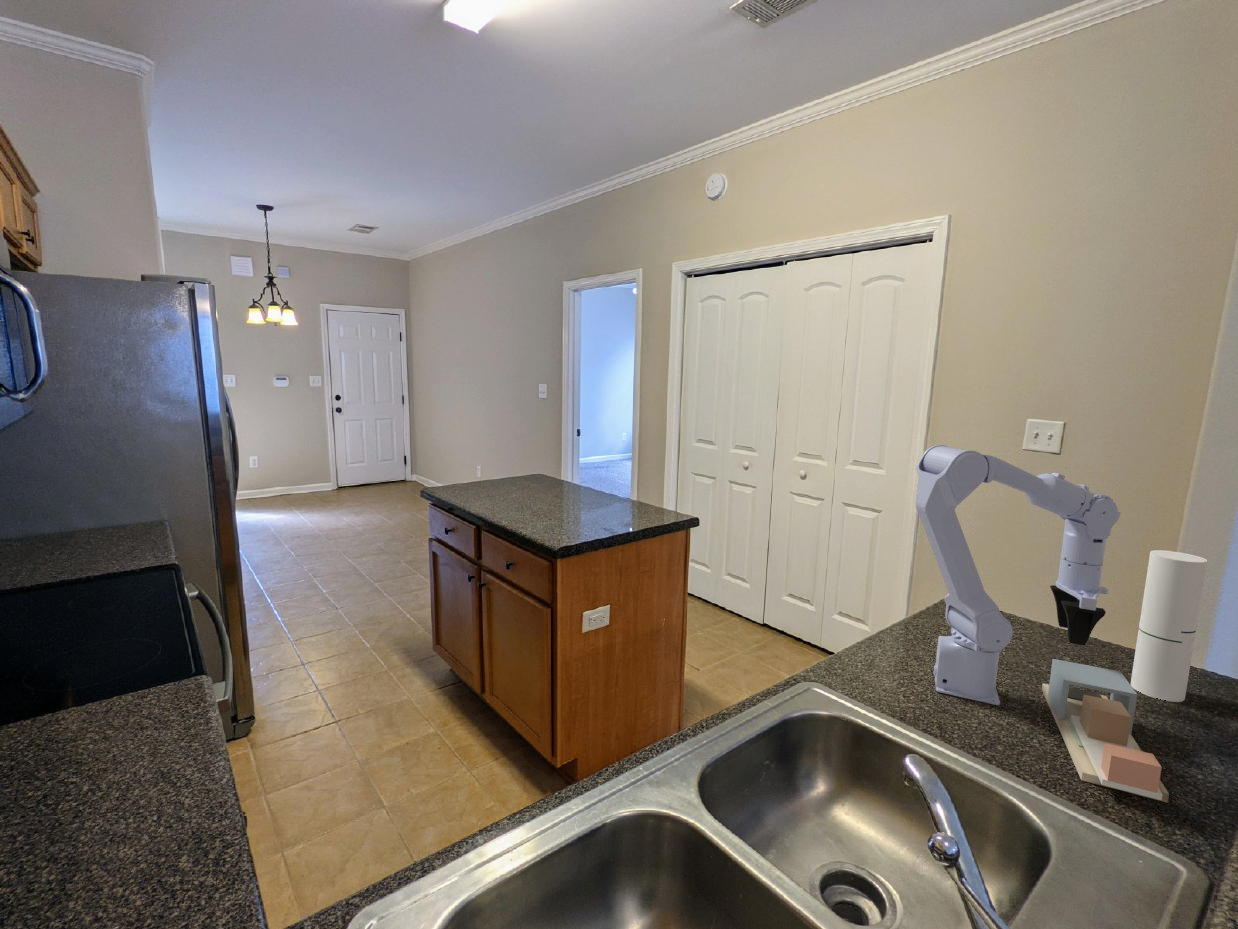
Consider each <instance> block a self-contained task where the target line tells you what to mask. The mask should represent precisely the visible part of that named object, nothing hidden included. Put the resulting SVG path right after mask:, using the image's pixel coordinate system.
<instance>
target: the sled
mask: <svg viewBox="0 0 1238 929" xmlns="http://www.w3.org/2000/svg"><path fill="white" fill-rule="evenodd" d="M1108 699H1109V698H1108ZM1108 699H1103V698H1098V697H1093V696H1088V695H1083V702H1082V710H1081V717H1079V716H1074V715H1071V719H1070V720H1071V722H1072V724H1073V726H1074V728H1075V730H1076V732H1077V734H1078V736H1079V738H1080V740H1081V742H1082V745H1083V747H1084V749H1085V751H1086V753H1087V755H1088V757H1089V759H1090V761H1091V763H1092V765H1093V767H1094V769H1095V771H1096V774H1097V776H1098V778H1099V780H1100V782H1101V784H1102V785H1104V786H1103V787H1105V786H1108V787H1107V788H1109V787H1112V788H1111V789H1113V788H1116V789H1115V790H1117V789H1120V790H1119V791H1121V790H1124V791H1123V792H1125V791H1128V792H1127V793H1129V792H1132V793H1131V794H1133V793H1135V794H1134V795H1137V794H1139V795H1138V796H1140V795H1143V796H1142V797H1144V796H1147V797H1146V798H1148V797H1151V798H1150V799H1152V798H1155V799H1154V800H1156V799H1159V800H1158V801H1160V800H1162V795H1163V794H1162V793H1161V791H1160V789H1159V788H1158V787H1159V781H1161V774H1162V766H1161V763H1160V762H1159V761H1158V760H1157V758H1156V757H1155V755H1154V753H1150V752H1145V751H1143V750H1141V751H1138V750H1135V749H1134V748H1133V746H1132V744H1131V743H1130V741H1129V740H1128V736H1129V729H1130V723H1131V716H1130V715H1129V713H1128V712H1127V710H1126V709H1125V707H1124V706H1123V704H1122V703H1121V702H1118V701H1113V700H1110V699H1109V700H1108ZM1102 785H1101V786H1102Z"/></svg>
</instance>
